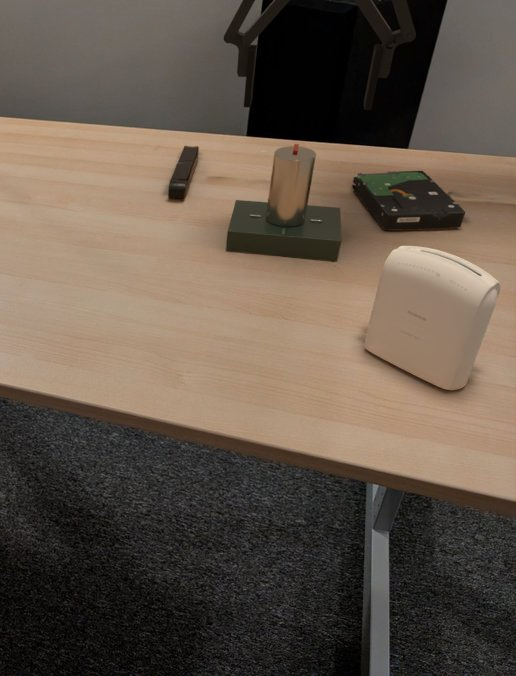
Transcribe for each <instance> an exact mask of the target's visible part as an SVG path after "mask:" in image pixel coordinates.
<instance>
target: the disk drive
mask: <svg viewBox="0 0 516 676" xmlns="http://www.w3.org/2000/svg"><path fill="white" fill-rule="evenodd" d="M352 179H353V180H352V183H354V184H352V185H351V189H352V191H353V192H354V193H355V194H356V196H357V197H358V198H359V200H360V201H361V203H362V204H363V205H364V206H365V208H366V209H367V210H368V211H369V213H370V214H371V215H372V217H373V218H374V219H375V221H376V222H377V223H378V225H379V226H380V227H381V228H382V229H383V230H384V231H417V230H419V231H420V230H421V231H422V230H447V229H456V228H462V224H463V222H464V219H465V215H466V211H465V210H464V208H463V207H462V206H461V205H460V204H458V203H457V202H456V201H455V200H454V199H453V198H452V197H451V196H450V195H449V194H448V193H447V192H446V191H445V190H443V188H441V186H439V185H438V184H437V183H436V182H435V181H434V180H433V179H432V178H431V177H430V175H428V174H427V173H426V172H425V171H424V170H403V171H400V170H399V171H397V170H396V171H394V170H393V171H387V172H382V173H381V172H378V173H362V172H359V173H357V174H356V176H354V177H353V178H352Z"/></svg>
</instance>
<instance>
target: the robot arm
mask: <svg viewBox="0 0 516 676" xmlns="http://www.w3.org/2000/svg"><path fill="white" fill-rule="evenodd" d="M290 1H291V0H272V2H270V4H269V5H268V6H267V7H266V8H265V10H264V11H263V12H262V13H261V14H260V15H259V17H257V18H256V19H255V20H254V22H253V23H252V24H251V25H250V26H249V28H247V30H246V31H245V32H242V31H240V29H241V27H242V25H243V24H244V22H245V20H246V18H247V16H248V14H249V12H250V11H251V9H252V7H253V5H254V3H255V2H256V0H242V1H241V3H240V4H239V7H238V9H237V10H236V12H235V14H234V16H233V18H232V20H231V22H230V23H229V25H228V28H227V29H226V31H225V33H224V34H223V41H224V42H225V43H226V44H231V45H233V46H236V47H237V50H238V53H237V54H238V56H237V67H236V73H237V74H236V75H237V76H238V78H245V86H244V97H243V98H244V99H243V108H251V106H252V102H253V95H254V83H255V82H254V81H255V73H256V62H257V52H258V44H253V42H254V41H255V40H256V39H257V38H258V37H259V36H260V35H261V33H262V32H264V30H265V29H266V28H267V27H268V26H269V24H270V23H271V22H272V21H273V20H274V19H275V18H276V17H277V16H278V14H280V12H281V11H282V10H283V9H284V8H285V7H286V6H287V5H288V3H289V2H290ZM353 1H354V2H355V4H356V5H357V7H358V8H359V10H360V12H361V13H362V15H363V16H364V18H365V19H366V20H367V22H368V23H369V25H370V27H371V28H372V30H373V31H374V32H375V34H376V36H377V37H378V38H379V40H380V42H381V43H374V45H373V52H372V56H371V61H370V67H369V72H368V77H367V78H368V79H367V82H366V88H365V95H364V99H363V109H364V111H372V110H373V106H374V105H373V104H374V99H375V96H376V95H375V94H376V90H377V83H378V80H379V79H387V78H388V76H389V75H390V72H391V66H392V64H393V63H392V62H393V59H394V58H393V57H394V53H395V50H396V48H397V47H398V46H400V45H402V44H404V43H411V42H413V41H414V40H415V39H416V37H417V31H416V29H415V26H414V22H413V18H412V15H411V11H410V8H409V5H408V0H391V2H392V5H393V8H394V12H395V15H396V19H397V22H398V26H399V29H396V30H392V29H391V27H390V26H389V24H388V23H387V21H386V20H385V18H384V17H383V15H382V13H381V12H380V11H379V9H378V7H377V5H376V4H375V2H373V0H353Z"/></svg>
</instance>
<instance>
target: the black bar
mask: <svg viewBox="0 0 516 676" xmlns="http://www.w3.org/2000/svg"><path fill="white" fill-rule="evenodd" d="M199 149H200V147H199V146H197V145H184V146H183V148H182V151H181V153H180V156H179V159H178V160H177V163H176V165H175V168H174V169H173V172H172V174H171V177H170V180H169V182H168V183H169V184H168V192H167V198H168V200H180V201H185V200H186V197H187V195H188V191H189V189H190V184H191V183H192V179H193V176H194V174H195V170H196V168H197V166H198V162H199V154H200V150H199Z"/></svg>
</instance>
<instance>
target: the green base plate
mask: <svg viewBox="0 0 516 676" xmlns="http://www.w3.org/2000/svg"><path fill="white" fill-rule="evenodd" d="M267 205H268V201H258V200H257V201H254V200H242V199H241V200H240V199H235V202H234V206H233V209H232V213H231V217H230V220H229V225H228V228H227V233H226V244H225V252H233V253H243V254H253V255H263V256H272V257H273V256H276V257H284V258H285V257H287V258H296V259H306V260H315V261H326V262H338V258H339V256H340V255H339V254H340V250H341V244H342V218H341V217H342V215H341V207H336V206H324V205H323V206H322V205H311V204H309V205H307V211H306V217H305V221H304V223H302V224H301V225H298V226H293V227H283V226H277V225H274V224H272V223H270V222H268V221H267V219H266V213H267Z"/></svg>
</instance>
